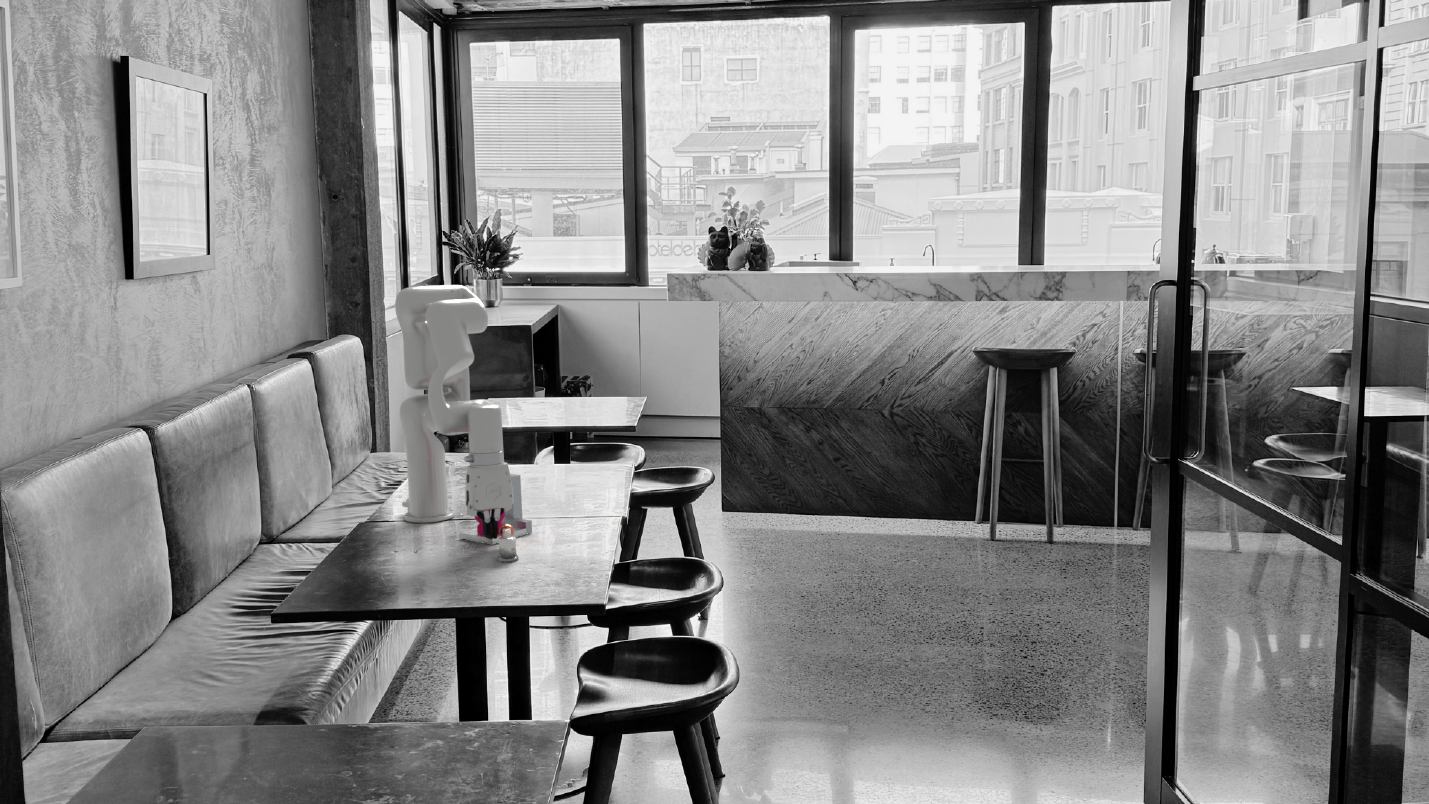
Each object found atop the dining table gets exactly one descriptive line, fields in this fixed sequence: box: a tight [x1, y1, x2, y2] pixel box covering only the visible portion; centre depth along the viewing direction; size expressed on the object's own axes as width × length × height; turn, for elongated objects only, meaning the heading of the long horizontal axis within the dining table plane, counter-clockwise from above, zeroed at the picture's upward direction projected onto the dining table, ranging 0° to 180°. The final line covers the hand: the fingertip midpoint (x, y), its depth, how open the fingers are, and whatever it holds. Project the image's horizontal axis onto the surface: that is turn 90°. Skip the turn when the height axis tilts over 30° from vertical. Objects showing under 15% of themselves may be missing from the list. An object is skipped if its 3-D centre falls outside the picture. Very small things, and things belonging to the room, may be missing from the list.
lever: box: [498, 524, 518, 558], centre depth 263 cm, size 16×4×4 cm, turn 11°
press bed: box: [459, 473, 533, 563], centre depth 271 cm, size 26×26×13 cm
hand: (491, 537), depth 267 cm, fingers closed
